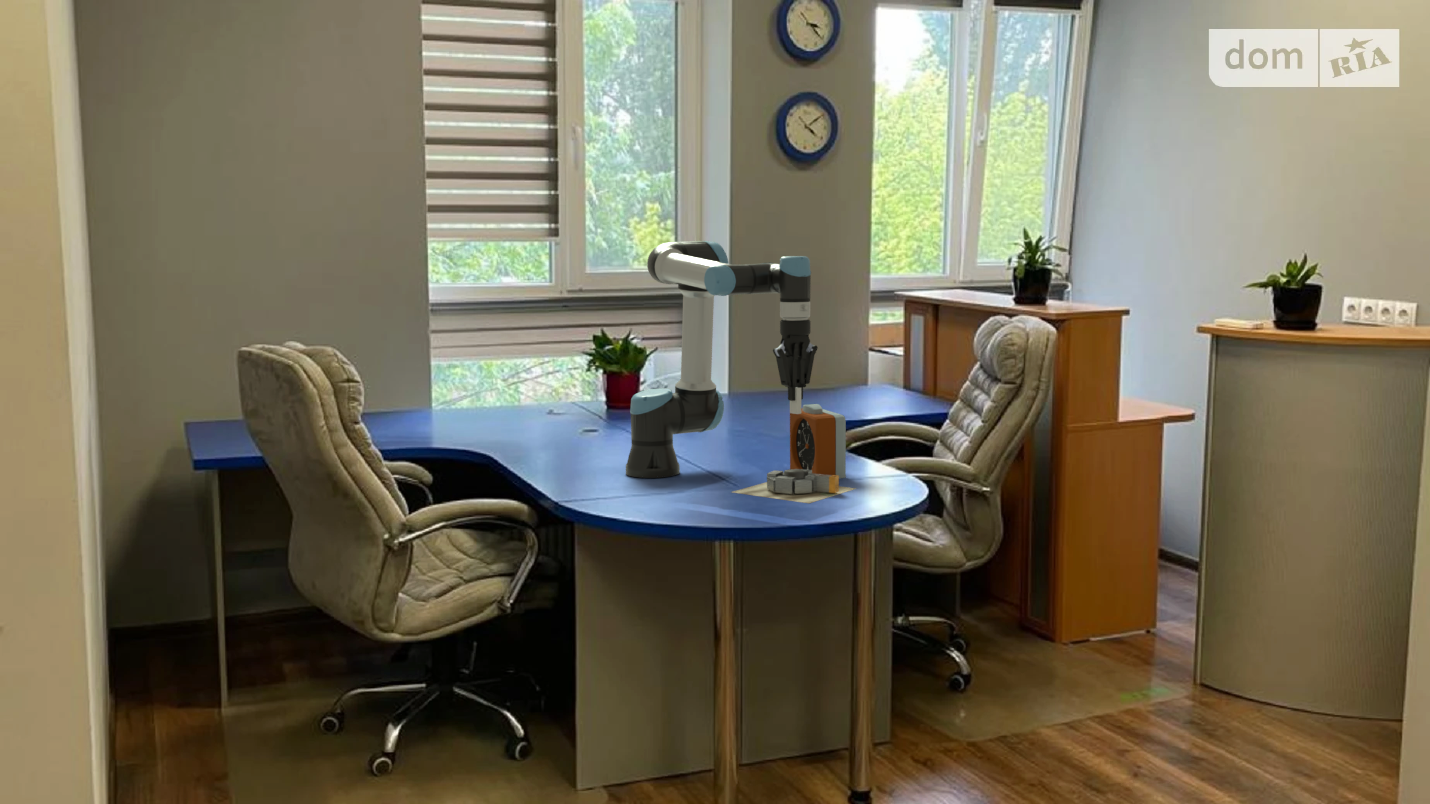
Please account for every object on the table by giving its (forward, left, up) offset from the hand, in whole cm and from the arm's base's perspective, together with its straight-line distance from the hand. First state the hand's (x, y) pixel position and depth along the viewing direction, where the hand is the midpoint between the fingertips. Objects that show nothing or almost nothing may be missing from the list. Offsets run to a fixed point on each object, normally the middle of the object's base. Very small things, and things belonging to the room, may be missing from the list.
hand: (795, 413), depth 335 cm
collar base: (-4, +5, -22) cm, 23 cm away
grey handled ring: (-1, +6, -20) cm, 21 cm away
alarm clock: (-12, +28, -23) cm, 38 cm away
